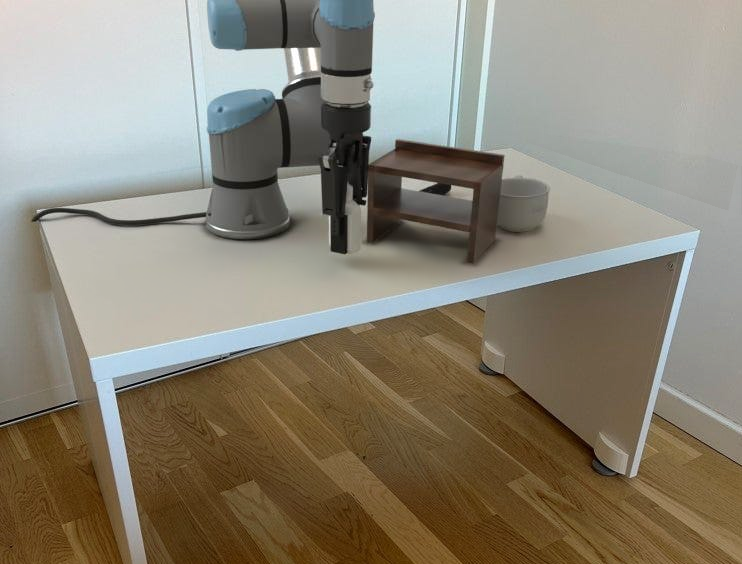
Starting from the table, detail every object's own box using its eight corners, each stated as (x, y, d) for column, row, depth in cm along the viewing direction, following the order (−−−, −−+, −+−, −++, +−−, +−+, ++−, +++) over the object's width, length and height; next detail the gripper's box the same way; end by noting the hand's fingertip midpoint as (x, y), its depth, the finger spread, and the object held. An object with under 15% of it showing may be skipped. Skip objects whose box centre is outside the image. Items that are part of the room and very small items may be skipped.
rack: (366, 242, 134) (368, 155, 126) (394, 221, 143) (397, 138, 135) (473, 264, 127) (482, 173, 119) (495, 240, 136) (504, 154, 128)
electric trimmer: (455, 195, 158) (457, 180, 156) (413, 213, 147) (414, 198, 145) (440, 191, 160) (441, 176, 158) (397, 209, 149) (398, 193, 147)
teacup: (539, 240, 137) (545, 197, 132) (480, 232, 139) (485, 190, 135) (549, 215, 148) (555, 175, 144) (495, 208, 151) (499, 168, 146)
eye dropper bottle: (337, 257, 122) (337, 185, 116) (326, 243, 127) (326, 173, 120) (362, 253, 124) (364, 182, 117) (351, 240, 128) (352, 171, 122)
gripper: (342, 117, 105) (341, 271, 117) (392, 93, 118) (386, 234, 130) (295, 110, 107) (299, 261, 120) (349, 87, 120) (348, 226, 133)
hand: (345, 247), depth 125 cm, fingers closed on eye dropper bottle, 4 cm apart
